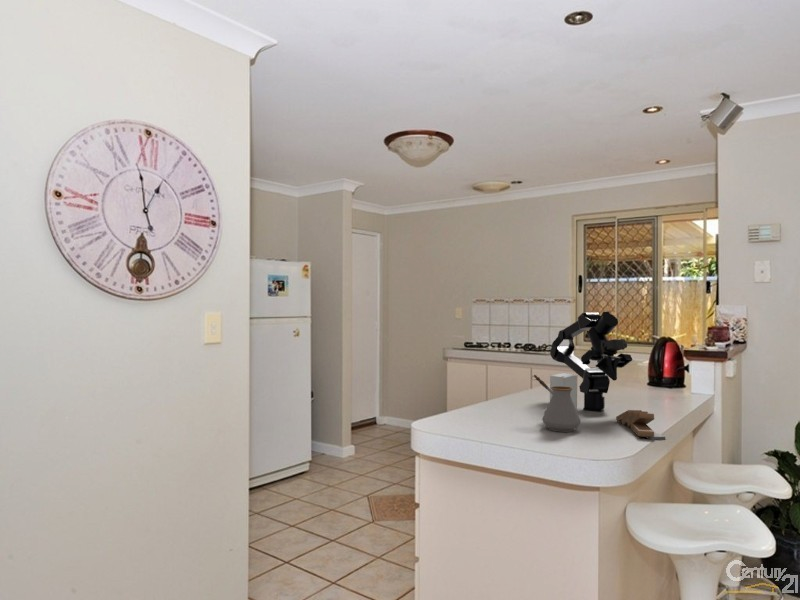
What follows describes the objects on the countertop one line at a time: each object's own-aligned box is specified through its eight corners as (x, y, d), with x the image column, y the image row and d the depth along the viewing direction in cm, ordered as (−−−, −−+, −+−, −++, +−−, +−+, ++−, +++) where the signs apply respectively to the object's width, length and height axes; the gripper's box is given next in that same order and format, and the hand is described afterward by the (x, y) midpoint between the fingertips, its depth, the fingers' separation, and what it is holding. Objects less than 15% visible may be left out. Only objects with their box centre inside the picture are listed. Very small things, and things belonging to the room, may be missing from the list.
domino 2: (621, 420, 175) (633, 411, 166) (634, 420, 175) (647, 411, 166) (622, 424, 174) (634, 416, 165) (635, 425, 174) (648, 416, 165)
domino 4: (631, 423, 166) (638, 430, 156) (645, 423, 165) (654, 431, 156) (631, 428, 166) (638, 436, 156) (645, 429, 165) (654, 437, 156)
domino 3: (627, 421, 170) (639, 412, 162) (640, 422, 170) (653, 413, 161) (627, 426, 170) (640, 417, 161) (641, 427, 169) (654, 419, 161)
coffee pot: (588, 432, 164) (589, 382, 164) (556, 434, 160) (557, 384, 160) (547, 417, 184) (548, 373, 184) (518, 419, 181) (518, 375, 181)
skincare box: (562, 414, 189) (563, 372, 189) (578, 417, 185) (578, 374, 185) (548, 417, 184) (548, 374, 184) (563, 421, 179) (564, 376, 179)
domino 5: (633, 428, 166) (651, 436, 156) (645, 428, 166) (665, 436, 156) (632, 433, 166) (651, 442, 156) (645, 433, 166) (665, 442, 156)
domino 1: (616, 416, 179) (628, 410, 170) (628, 417, 179) (641, 410, 170) (616, 421, 179) (629, 415, 170) (629, 421, 179) (642, 415, 170)
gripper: (593, 327, 187) (609, 366, 178) (634, 332, 194) (651, 370, 185) (574, 344, 195) (588, 382, 186) (614, 348, 202) (629, 385, 193)
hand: (615, 380), depth 187 cm, fingers closed
